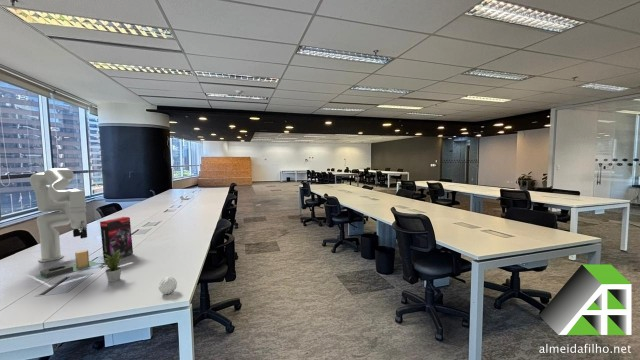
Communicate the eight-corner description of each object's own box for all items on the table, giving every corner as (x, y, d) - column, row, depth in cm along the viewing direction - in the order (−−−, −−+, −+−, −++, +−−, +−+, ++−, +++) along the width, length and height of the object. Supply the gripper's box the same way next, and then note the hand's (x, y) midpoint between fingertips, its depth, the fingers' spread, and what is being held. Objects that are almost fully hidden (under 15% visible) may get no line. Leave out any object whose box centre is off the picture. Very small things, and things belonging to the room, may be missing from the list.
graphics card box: (110, 262, 177) (107, 221, 176) (102, 262, 179) (99, 221, 177) (133, 254, 194) (131, 216, 192) (125, 253, 195) (123, 216, 194)
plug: (76, 266, 168) (75, 252, 167) (87, 263, 173) (86, 250, 172) (78, 267, 166) (77, 253, 165) (89, 264, 171) (88, 250, 170)
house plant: (102, 276, 154) (100, 248, 153) (131, 272, 159) (130, 245, 158) (93, 287, 141) (91, 256, 140) (125, 282, 146) (123, 252, 145)
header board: (35, 277, 156) (34, 270, 156) (90, 262, 179) (90, 256, 178) (43, 281, 150) (43, 274, 149) (99, 265, 172) (99, 259, 172)
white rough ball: (157, 298, 127) (156, 282, 127) (160, 291, 134) (159, 276, 134) (176, 294, 131) (175, 279, 130) (178, 288, 138) (177, 273, 137)
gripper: (64, 210, 168) (66, 237, 168) (76, 211, 159) (78, 240, 160) (79, 208, 174) (81, 234, 175) (92, 209, 166) (94, 237, 167)
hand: (80, 237), depth 168 cm, fingers open, 9 cm apart
